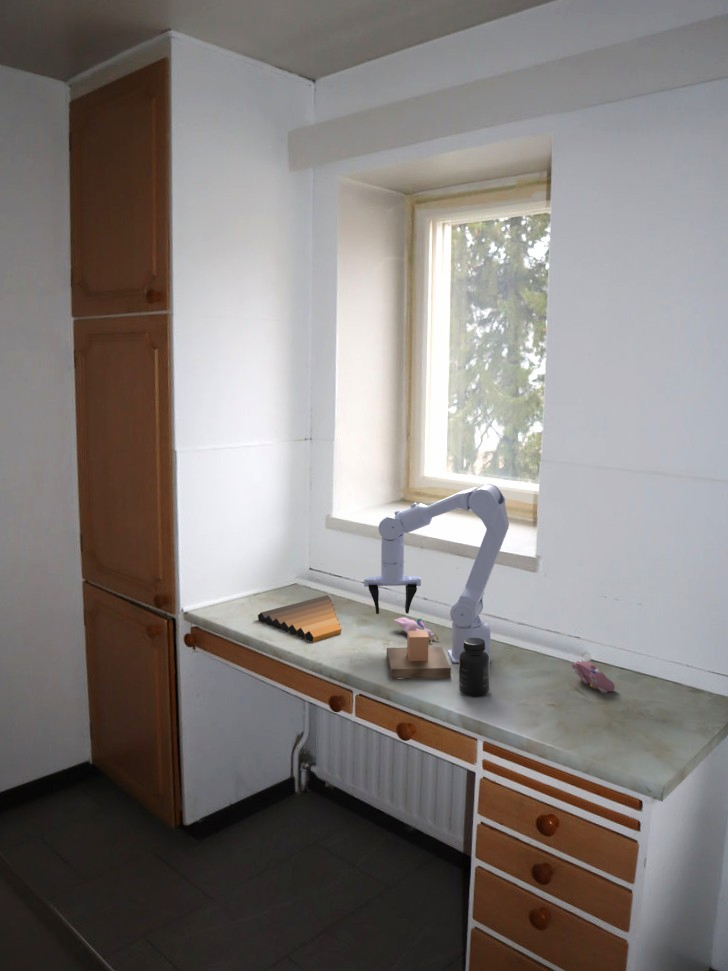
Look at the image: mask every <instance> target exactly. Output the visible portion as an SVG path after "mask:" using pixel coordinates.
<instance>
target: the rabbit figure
mask: <svg viewBox="0 0 728 971" xmlns="http://www.w3.org/2000/svg"><path fill="white" fill-rule="evenodd" d="M422 620H423V619H422V618H421V617H418V618H417V619H416V621H415V620H413V619H410V618H408V617H399V618H396V619H393V622H396V623H397V624H398V625H399V626H400V627H402V628H403V630H404V632H405V633H406V634H407V631H426V632H427V634H428V637H429V641H430V642H429V643H433V640H434V639H435V637H436V640H435V641H436V642H438V641H439V635H437V634H436V633H433V632H432V631H431V629H428V628H426V626H425V624H424V622H422ZM421 628H422V629H421Z"/></svg>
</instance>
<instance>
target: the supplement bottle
mask: <svg viewBox="0 0 728 971" xmlns="http://www.w3.org/2000/svg"><path fill="white" fill-rule="evenodd" d="M463 649H464V651H462V652H461V653H460V655H459V663H458V690H459V692H460V693H461V694H462V695H463V696H466V697H469V698H470V697H471V698H477V697H478V698H480V697H484V696H486V695H488V693H489V692H490V666H491V665H490V662H491V658H490V659H489V655H488V653H487V652H486V651H485V641H484V640H483V639H480V638H467V639H465V640H464V646H463Z"/></svg>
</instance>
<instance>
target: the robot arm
mask: <svg viewBox="0 0 728 971" xmlns="http://www.w3.org/2000/svg"><path fill="white" fill-rule="evenodd" d="M456 509H461V510H463V511H467V512H468V511H469V510H471V512H473V514H475V515H476V517H477V518H479V519H480V520H481V521H482V523H483V525H484V526H485V529H486V530H485V533H484V536H483V538H482V541H481V544H480V546H479V548H478V551H477V555H476V557H475V559H474V562H473V565H472V567H471V570H470V573H469V575H468V578H467V581H466V584H465V586H464V588H463V589H462V592H461V594H460V596H459V598H458V600H457V601H456V602H455V604H453V605H452V607H451V608H450V611H449V612H450V614H449V615H450V619H451V621H452V622H451V623H452V624H451V649H448V650H447V653H448V654H449V658H450V659H451V662H452V663H455V664H456V663H458V664H459V655H460V653H461V652H462V651H464V649H463V646H464V640H465V639H467V638H480V639H483V640H484V641H485V651H486V652H487V653H488V655H489V659H490V660H491V628H490V624H489V623H488V622H482V620H481V617H480V614H481V613H482V611H483V609H484V602H483V598H484V596H485V590H486V587H487V585H488V581H489V579H490V577H491V574H492V571H493V569H494V566H495V564H496V561H497V559H498V556H499V553H500V550H501V549H502V545H503V543H504V541H505V538H506V535H507V533H508V530H509V527H510V526H509V525H510V523H509V518H508V514H507V508H506V498H505V496H504V494H503V493H502V490H501V489H499V488H498V487H497V486H496V485H495V484H492V483H485V484H483V485H481V486H476V487H475V486H474V487H471V488H469V489H465V490H461V491H459V492H457V493H454V494H452V495H450V496H448V497H445V498H443V499H441V500H439V501H438V500H437V501H436V502H435V503H432V504H429V505H426V504H424V503H418V504H417V502H414V503H412V504H410V507H407V508H406V509H403V510H396V511H394V513H393V514H390V515H389V516H386V517H385V518H382V519H381V521H380V522H379V524H378V533H379V534H380V537H381V551H380V552H381V553H380V556H381V557H380V558H381V560H380V562H381V567H380V568H381V569H380V570H381V572H380V573H381V574H380V575H379V576H378V575H377V576H371V577H370V576H369V577H364V578H363V585H364V586H363V587H364V588H367V587H368V591H369V594H370V595H371V598H372V601H373V603H374V608H375V614H376V615H380V605H379V604H380V603H379V600H380V599H379V595H380V594H379V593H380V591H379V587H385V586H386V587H387V586H388V587H389V586H393V587H394V586H395V587H397V586H400V587H401V586H405V604H404V605H405V606H404V611H405V614H409V613H410V608H411V605H412V602H413V599H414V597H415V595H416V594H417V592H418V591H417V590H418V587H421V586H422V585H421V584H422V579H421V576H411V575H410V576H409V575H405V574H404V573H405V571H404V570H405V569H404V567H405V566H404V563H405V562H404V559H405V556H404V555H405V554H404V553H405V552H404V548H405V543H404V537H405V534H409V533H411V532H414V531H417V530H418V529H421V528H424V527H427V526H429V525H431V522H432V519H433V518H435V517H438V516H441V515H443V514H446V513H448V512H452V511H455V510H456Z"/></svg>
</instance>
